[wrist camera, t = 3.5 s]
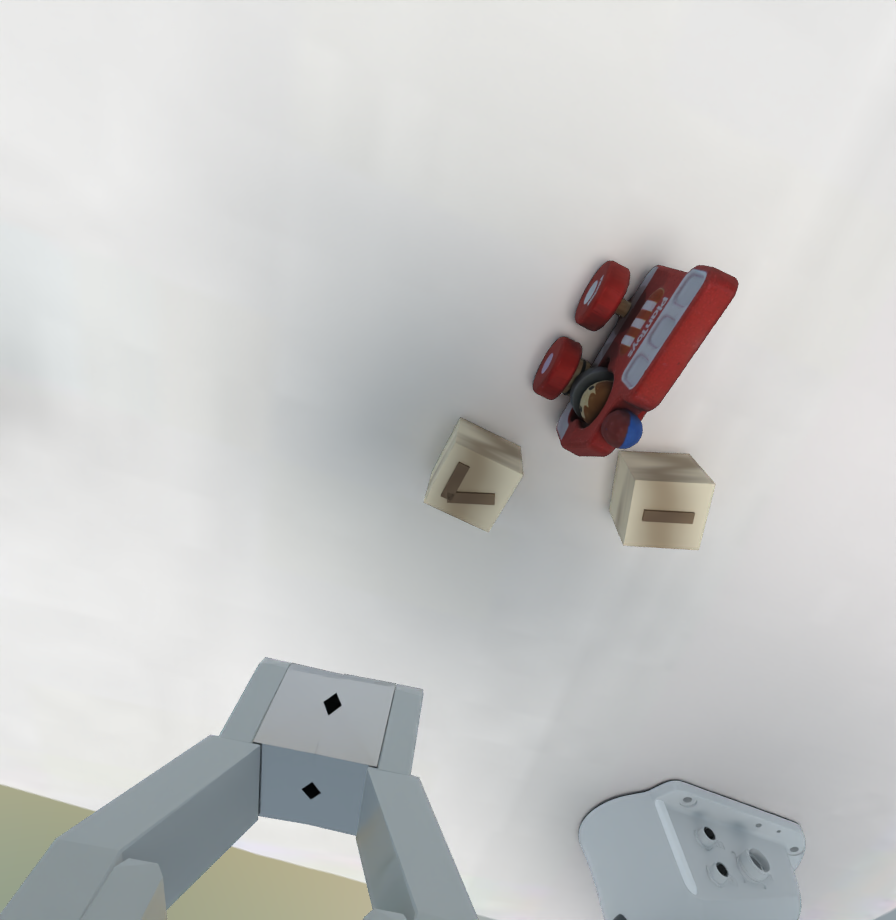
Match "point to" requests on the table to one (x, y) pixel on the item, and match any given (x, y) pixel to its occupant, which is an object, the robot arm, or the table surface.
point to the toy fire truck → (630, 351)
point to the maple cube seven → (475, 475)
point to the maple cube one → (660, 500)
